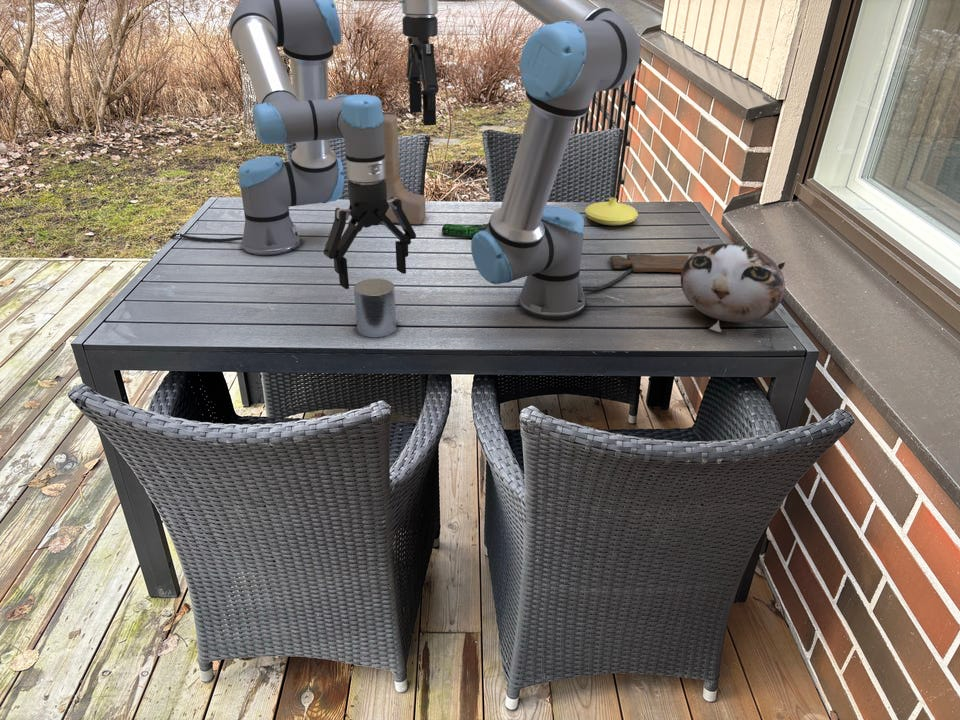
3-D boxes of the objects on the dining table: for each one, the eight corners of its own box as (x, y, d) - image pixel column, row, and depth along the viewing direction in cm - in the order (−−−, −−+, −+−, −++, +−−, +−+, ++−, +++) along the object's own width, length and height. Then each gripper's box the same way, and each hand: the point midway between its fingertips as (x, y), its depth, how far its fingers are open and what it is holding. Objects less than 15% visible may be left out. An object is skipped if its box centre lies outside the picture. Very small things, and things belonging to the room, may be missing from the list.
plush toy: (658, 308, 155) (687, 223, 157) (673, 329, 171) (700, 252, 172) (764, 333, 144) (794, 241, 146) (770, 354, 160) (797, 271, 162)
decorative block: (420, 225, 212) (417, 121, 196) (371, 222, 213) (364, 118, 198) (426, 217, 218) (423, 115, 203) (378, 214, 220) (371, 113, 204)
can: (366, 340, 152) (362, 298, 147) (351, 324, 158) (347, 283, 153) (402, 331, 155) (400, 290, 150) (387, 316, 162) (384, 275, 157)
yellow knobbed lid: (599, 209, 226) (601, 187, 223) (645, 219, 218) (648, 197, 215) (575, 222, 215) (576, 200, 212) (622, 234, 207) (625, 211, 204)
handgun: (511, 219, 210) (493, 234, 198) (511, 228, 211) (492, 244, 199) (461, 212, 215) (440, 226, 203) (461, 221, 217) (440, 236, 204)
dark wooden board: (713, 276, 184) (704, 260, 192) (715, 269, 183) (705, 255, 191) (613, 272, 184) (608, 257, 192) (614, 266, 183) (609, 251, 192)
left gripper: (316, 195, 131) (327, 300, 142) (430, 174, 144) (432, 271, 155) (299, 185, 136) (311, 286, 147) (411, 165, 149) (414, 260, 160)
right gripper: (391, 10, 161) (395, 108, 172) (415, 21, 141) (419, 131, 152) (423, 10, 163) (425, 106, 174) (452, 21, 143) (453, 129, 154)
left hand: (373, 279), depth 151 cm, fingers open, 13 cm apart
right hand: (422, 118), depth 163 cm, fingers open, 13 cm apart
